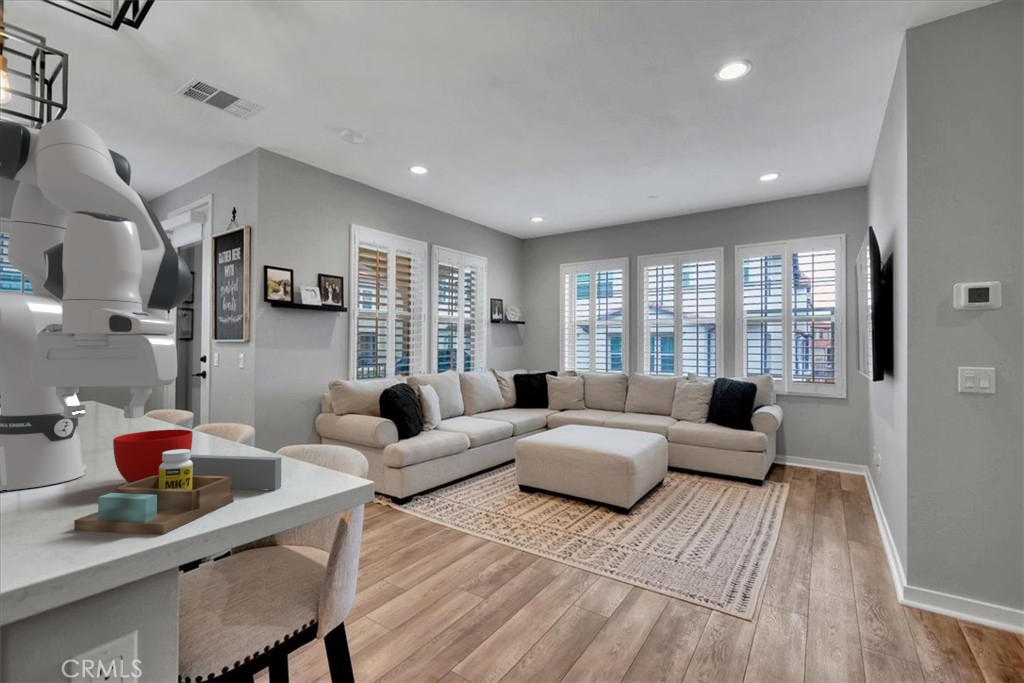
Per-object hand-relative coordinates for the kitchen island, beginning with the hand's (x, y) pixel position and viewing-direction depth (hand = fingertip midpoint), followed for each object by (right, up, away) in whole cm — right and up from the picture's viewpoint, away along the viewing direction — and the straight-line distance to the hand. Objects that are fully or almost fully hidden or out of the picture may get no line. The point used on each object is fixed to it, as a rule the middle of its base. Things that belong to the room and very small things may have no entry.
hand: (104, 417), depth 68 cm
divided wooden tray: (0, -18, +10) cm, 21 cm away
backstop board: (+3, -18, +26) cm, 32 cm away
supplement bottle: (+1, -17, +13) cm, 21 cm away
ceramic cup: (-16, -18, +29) cm, 38 cm away
